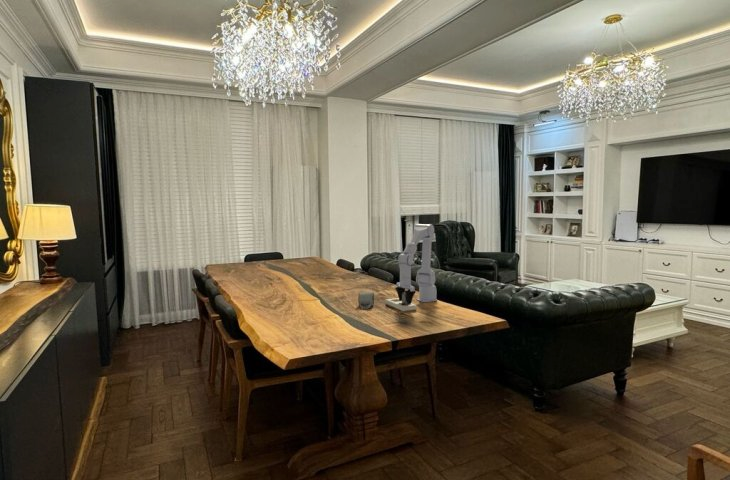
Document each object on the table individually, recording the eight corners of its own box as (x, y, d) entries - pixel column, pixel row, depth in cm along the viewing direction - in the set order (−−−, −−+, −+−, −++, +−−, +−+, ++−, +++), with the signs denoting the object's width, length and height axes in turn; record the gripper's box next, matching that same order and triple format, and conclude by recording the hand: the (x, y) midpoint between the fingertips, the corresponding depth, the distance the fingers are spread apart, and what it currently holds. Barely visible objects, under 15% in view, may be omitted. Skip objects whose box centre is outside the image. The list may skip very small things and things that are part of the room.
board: (398, 303, 236) (398, 297, 236) (416, 310, 220) (416, 305, 220) (385, 304, 232) (385, 299, 232) (403, 312, 216) (403, 306, 216)
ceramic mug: (359, 304, 234) (359, 290, 233) (374, 304, 233) (374, 290, 232) (357, 309, 224) (357, 295, 223) (372, 309, 223) (372, 295, 222)
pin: (405, 306, 225) (405, 292, 224) (410, 308, 222) (410, 293, 221) (400, 308, 222) (400, 293, 222) (405, 309, 220) (405, 294, 219)
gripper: (391, 275, 225) (391, 300, 226) (406, 279, 212) (406, 306, 214) (402, 273, 228) (402, 298, 230) (418, 278, 215) (417, 304, 217)
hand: (405, 302), depth 222 cm, fingers open, 7 cm apart
